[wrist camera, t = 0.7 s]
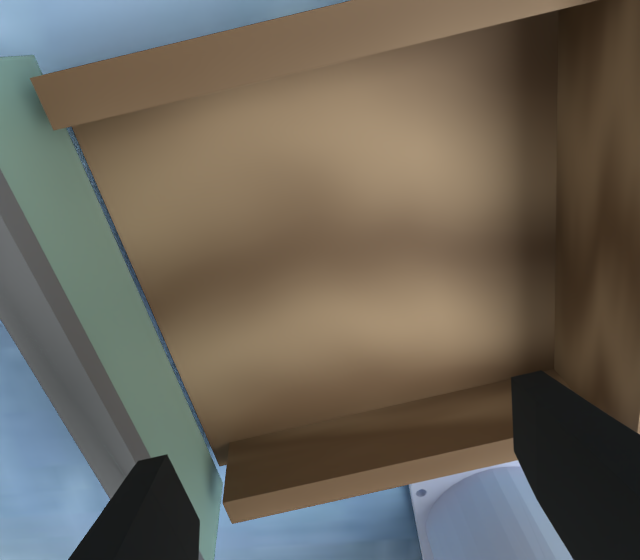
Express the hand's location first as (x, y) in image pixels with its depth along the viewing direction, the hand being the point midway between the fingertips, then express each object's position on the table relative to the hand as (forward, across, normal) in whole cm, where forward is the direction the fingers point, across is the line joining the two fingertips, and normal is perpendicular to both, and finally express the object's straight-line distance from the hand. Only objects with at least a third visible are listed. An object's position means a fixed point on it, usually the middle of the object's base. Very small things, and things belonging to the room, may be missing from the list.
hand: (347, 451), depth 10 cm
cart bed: (+9, -2, 0) cm, 10 cm away
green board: (+8, +6, 0) cm, 10 cm away
